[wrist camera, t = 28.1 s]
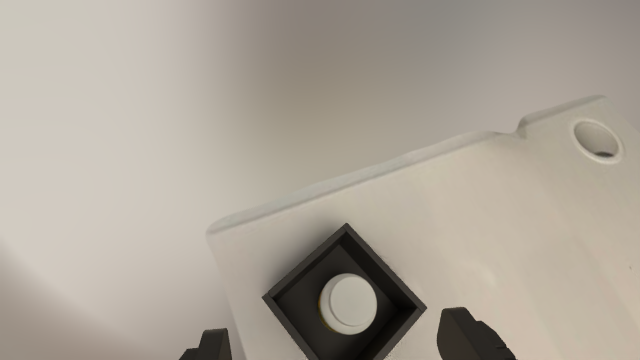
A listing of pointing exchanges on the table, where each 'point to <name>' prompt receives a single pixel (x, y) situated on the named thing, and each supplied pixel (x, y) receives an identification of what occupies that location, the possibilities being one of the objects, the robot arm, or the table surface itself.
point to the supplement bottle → (347, 304)
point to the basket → (311, 277)
